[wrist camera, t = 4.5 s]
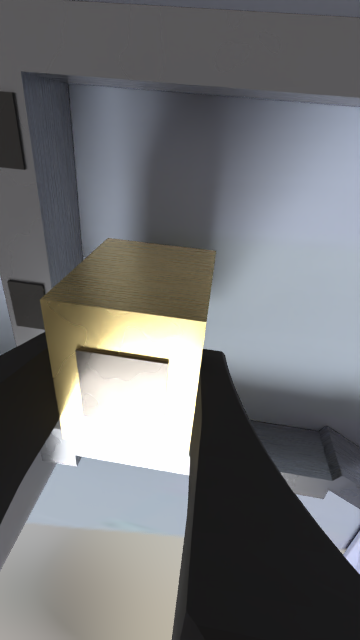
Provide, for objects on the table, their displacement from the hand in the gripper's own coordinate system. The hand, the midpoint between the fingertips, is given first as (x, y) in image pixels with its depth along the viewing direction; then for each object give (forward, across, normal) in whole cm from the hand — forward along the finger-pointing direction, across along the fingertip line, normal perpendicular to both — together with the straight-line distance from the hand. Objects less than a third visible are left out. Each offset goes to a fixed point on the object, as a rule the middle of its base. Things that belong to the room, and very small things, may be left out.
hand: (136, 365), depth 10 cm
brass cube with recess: (+4, 0, 0) cm, 4 cm away
